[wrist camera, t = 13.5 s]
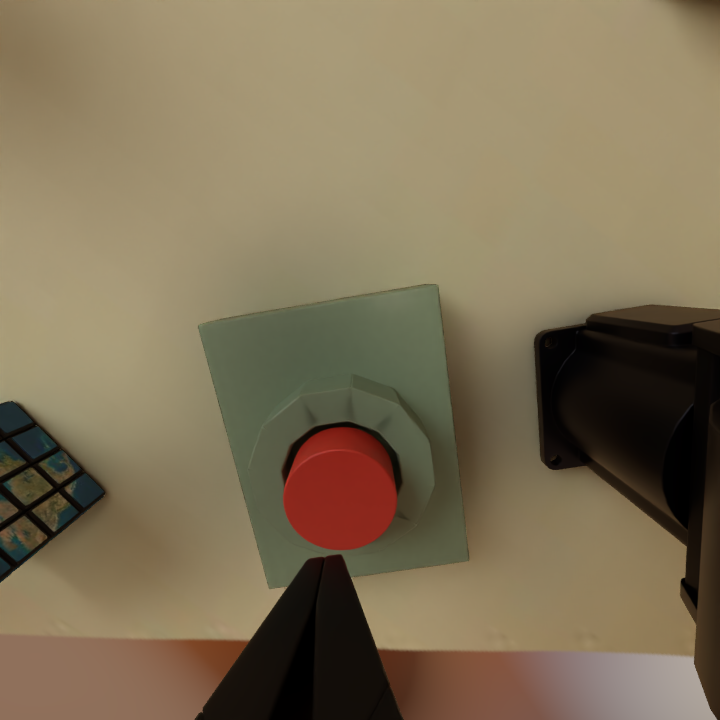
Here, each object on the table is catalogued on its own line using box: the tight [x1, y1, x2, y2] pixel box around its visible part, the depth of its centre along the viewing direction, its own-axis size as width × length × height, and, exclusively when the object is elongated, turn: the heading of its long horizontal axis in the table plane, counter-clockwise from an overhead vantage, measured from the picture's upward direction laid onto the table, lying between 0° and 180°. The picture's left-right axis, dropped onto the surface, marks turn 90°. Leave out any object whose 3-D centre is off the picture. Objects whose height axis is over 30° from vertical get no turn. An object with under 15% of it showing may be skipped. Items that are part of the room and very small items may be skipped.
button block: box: [198, 284, 469, 589], centre depth 14 cm, size 12×9×4 cm
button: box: [283, 427, 397, 550], centre depth 12 cm, size 4×4×2 cm
